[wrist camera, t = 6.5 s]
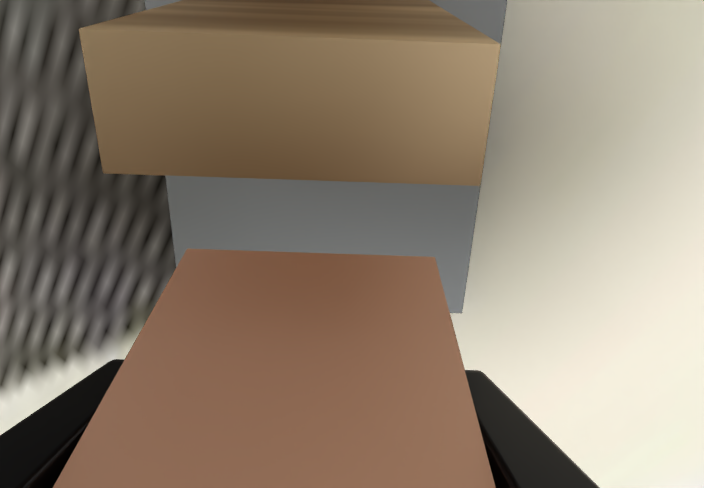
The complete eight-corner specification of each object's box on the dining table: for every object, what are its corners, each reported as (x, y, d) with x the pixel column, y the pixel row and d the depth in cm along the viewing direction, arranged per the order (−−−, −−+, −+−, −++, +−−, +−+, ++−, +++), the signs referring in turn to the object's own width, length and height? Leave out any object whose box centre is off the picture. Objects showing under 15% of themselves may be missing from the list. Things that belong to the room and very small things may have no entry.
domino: (234, -15, 16) (78, 28, 7) (416, -7, 16) (501, 44, 7) (237, 54, 17) (103, 173, 8) (411, 60, 17) (480, 186, 8)
